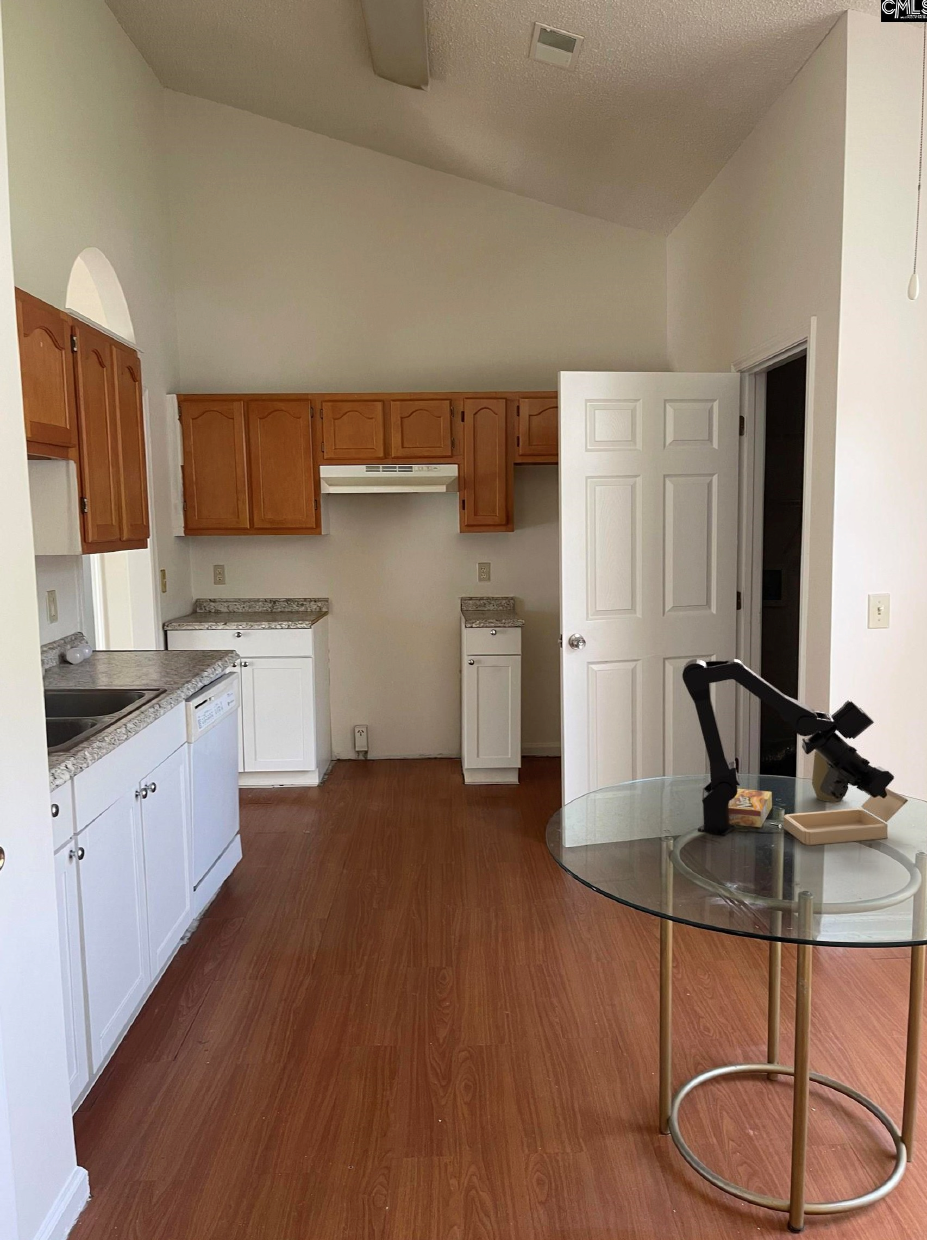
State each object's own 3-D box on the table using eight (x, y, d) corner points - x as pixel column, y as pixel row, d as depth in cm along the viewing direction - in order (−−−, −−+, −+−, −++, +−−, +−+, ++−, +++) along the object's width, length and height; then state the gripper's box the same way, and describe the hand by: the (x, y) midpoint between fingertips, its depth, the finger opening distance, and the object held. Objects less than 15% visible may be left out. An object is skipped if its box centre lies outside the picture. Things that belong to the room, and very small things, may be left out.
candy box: (735, 803, 217) (722, 824, 203) (734, 787, 216) (721, 807, 203) (772, 807, 212) (761, 828, 199) (772, 790, 212) (760, 810, 199)
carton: (805, 846, 187) (805, 832, 187) (781, 827, 199) (781, 814, 199) (888, 838, 188) (888, 825, 188) (859, 820, 200) (859, 807, 200)
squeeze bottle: (813, 803, 214) (812, 731, 212) (810, 793, 221) (809, 723, 219) (849, 804, 211) (848, 731, 209) (845, 794, 219) (844, 723, 217)
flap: (884, 820, 189) (906, 798, 189) (860, 806, 199) (881, 785, 199) (886, 822, 189) (908, 800, 189) (862, 807, 199) (883, 787, 199)
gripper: (792, 767, 201) (839, 810, 203) (832, 791, 182) (883, 838, 184) (825, 731, 201) (871, 774, 203) (868, 751, 182) (919, 799, 184)
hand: (884, 796), depth 193 cm, fingers closed
